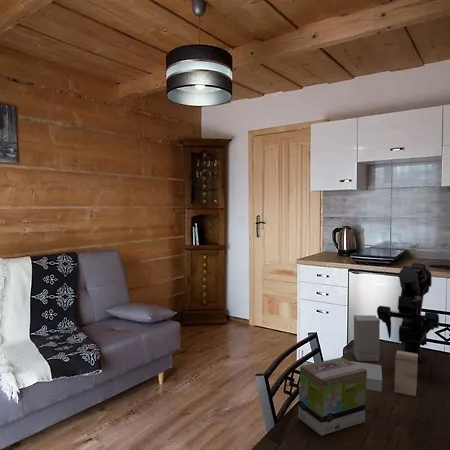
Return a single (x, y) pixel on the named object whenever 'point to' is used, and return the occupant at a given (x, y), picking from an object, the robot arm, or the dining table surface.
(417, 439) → the dining table surface
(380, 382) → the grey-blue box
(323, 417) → the tea box
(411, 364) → the birch block
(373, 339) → the skincare box
